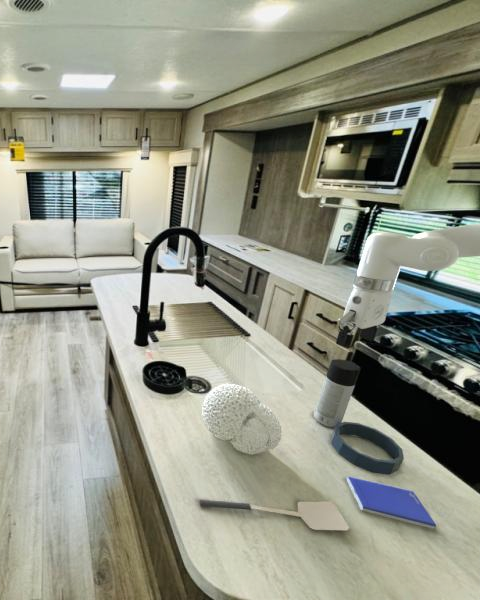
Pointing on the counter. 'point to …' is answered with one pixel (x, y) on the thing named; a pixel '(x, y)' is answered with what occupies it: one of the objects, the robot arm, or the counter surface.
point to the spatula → (297, 513)
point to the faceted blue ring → (362, 459)
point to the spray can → (336, 392)
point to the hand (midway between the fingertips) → (354, 342)
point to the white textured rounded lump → (241, 419)
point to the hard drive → (390, 502)
